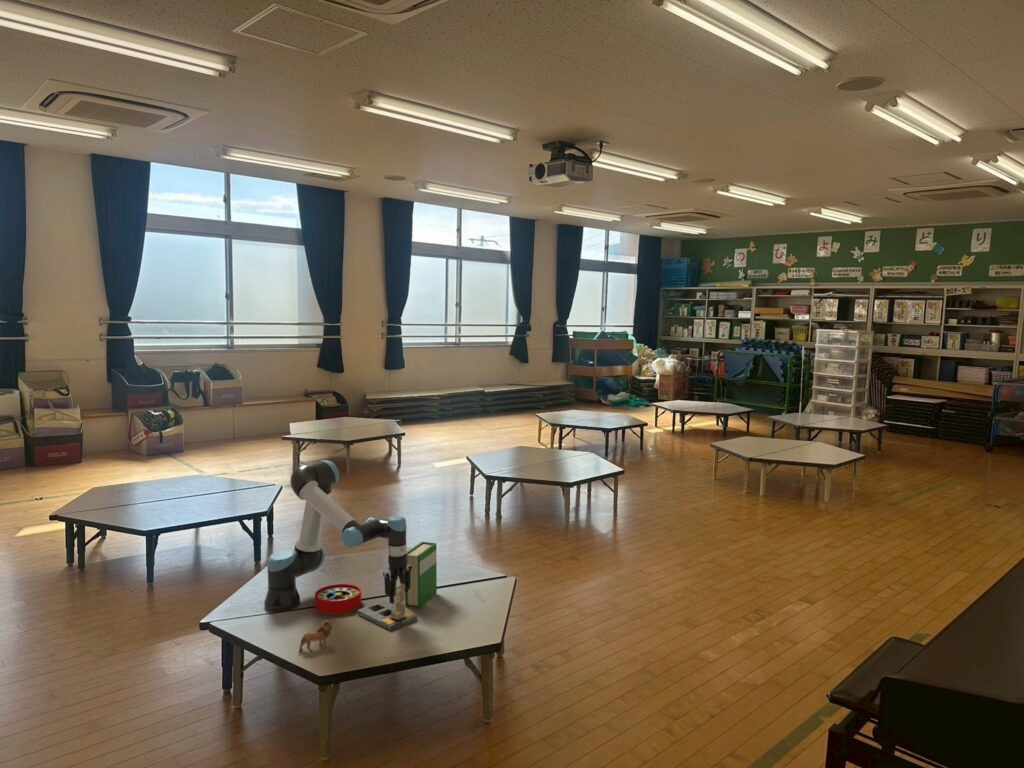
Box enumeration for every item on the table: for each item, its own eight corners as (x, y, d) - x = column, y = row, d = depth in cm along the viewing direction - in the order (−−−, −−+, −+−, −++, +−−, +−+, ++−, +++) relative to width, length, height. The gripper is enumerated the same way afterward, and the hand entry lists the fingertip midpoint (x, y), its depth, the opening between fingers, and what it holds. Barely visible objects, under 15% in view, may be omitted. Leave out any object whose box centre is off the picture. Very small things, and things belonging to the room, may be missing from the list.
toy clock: (370, 588, 311) (340, 604, 293) (370, 601, 311) (340, 618, 293) (335, 581, 320) (304, 596, 302) (336, 593, 320) (305, 609, 302)
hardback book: (419, 608, 303) (419, 555, 301) (404, 606, 305) (404, 553, 303) (436, 593, 320) (436, 543, 317) (422, 591, 322) (421, 541, 320)
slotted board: (390, 631, 281) (390, 625, 280) (357, 614, 296) (357, 609, 296) (417, 620, 291) (417, 615, 291) (384, 604, 306) (383, 599, 306)
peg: (397, 619, 285) (397, 587, 284) (391, 617, 288) (391, 584, 287) (405, 616, 288) (404, 584, 287) (399, 614, 291) (398, 581, 290)
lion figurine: (327, 639, 273) (327, 617, 273) (335, 643, 270) (335, 621, 269) (294, 652, 262) (294, 629, 261) (302, 656, 259) (302, 633, 258)
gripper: (386, 561, 277) (387, 617, 279) (419, 551, 290) (419, 605, 292) (375, 557, 282) (375, 612, 284) (407, 547, 295) (408, 600, 297)
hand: (398, 608), depth 288 cm, fingers closed on peg, 4 cm apart
